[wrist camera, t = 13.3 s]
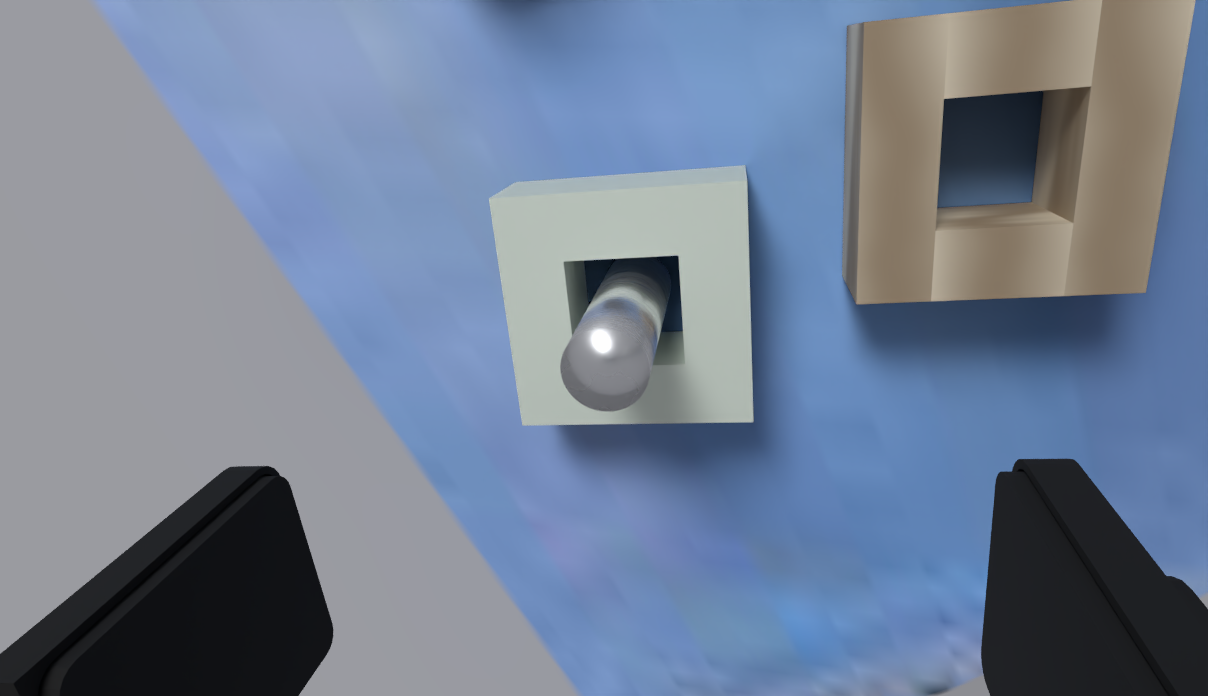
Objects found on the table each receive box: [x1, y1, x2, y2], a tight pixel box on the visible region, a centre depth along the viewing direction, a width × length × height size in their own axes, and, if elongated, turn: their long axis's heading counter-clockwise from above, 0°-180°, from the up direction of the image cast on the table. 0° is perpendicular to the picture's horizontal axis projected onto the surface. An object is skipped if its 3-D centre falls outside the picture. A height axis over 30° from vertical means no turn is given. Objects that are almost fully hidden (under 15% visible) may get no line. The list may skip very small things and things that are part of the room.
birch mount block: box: [842, 0, 1195, 304], centre depth 28 cm, size 10×10×4 cm
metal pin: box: [560, 257, 671, 412], centre depth 29 cm, size 3×3×10 cm
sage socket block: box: [489, 165, 753, 425], centre depth 32 cm, size 10×10×4 cm
